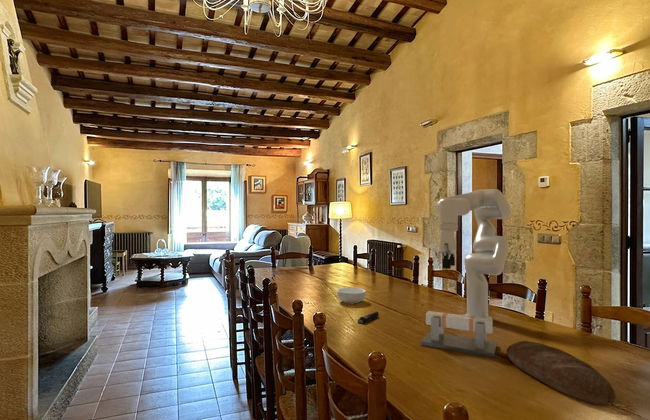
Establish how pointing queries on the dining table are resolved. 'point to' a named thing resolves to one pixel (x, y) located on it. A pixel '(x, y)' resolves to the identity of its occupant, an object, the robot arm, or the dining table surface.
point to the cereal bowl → (351, 295)
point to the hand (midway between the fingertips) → (448, 266)
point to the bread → (561, 372)
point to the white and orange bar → (460, 321)
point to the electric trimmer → (368, 318)
